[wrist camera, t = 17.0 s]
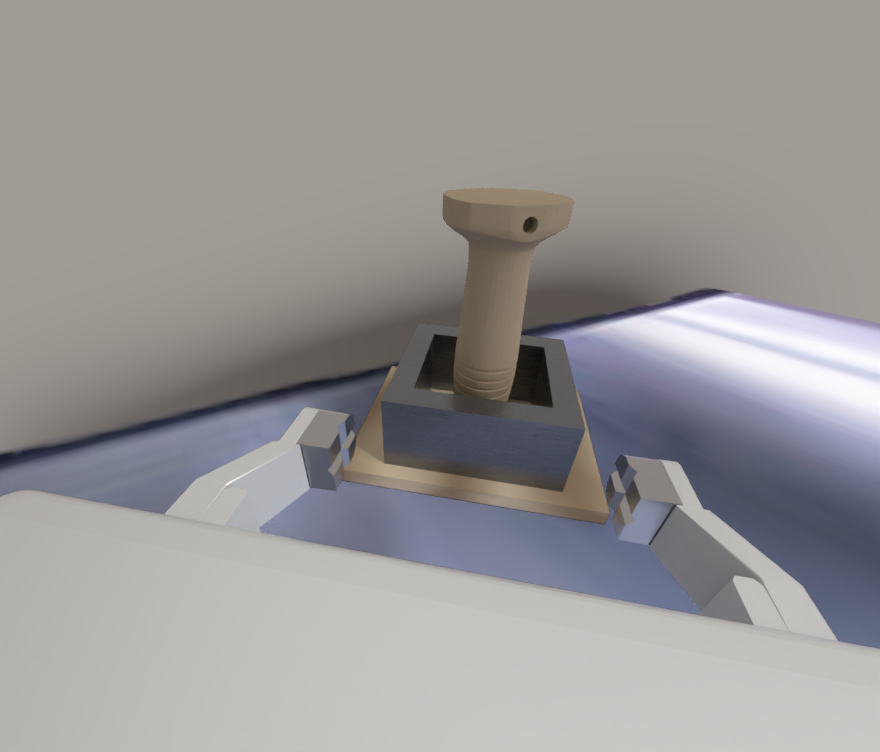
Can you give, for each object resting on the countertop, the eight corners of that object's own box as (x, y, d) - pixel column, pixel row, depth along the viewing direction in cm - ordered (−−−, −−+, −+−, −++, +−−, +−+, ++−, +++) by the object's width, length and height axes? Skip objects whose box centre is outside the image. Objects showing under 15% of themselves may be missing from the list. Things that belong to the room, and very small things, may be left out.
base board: (574, 400, 31) (578, 390, 31) (604, 524, 21) (609, 513, 21) (392, 375, 33) (392, 366, 32) (341, 479, 23) (340, 469, 22)
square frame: (548, 393, 30) (563, 340, 27) (562, 492, 22) (585, 429, 19) (417, 376, 31) (418, 322, 28) (384, 463, 23) (380, 400, 20)
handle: (424, 411, 27) (431, 188, 19) (501, 397, 29) (539, 188, 21) (445, 457, 24) (466, 206, 15) (532, 438, 26) (593, 205, 17)
